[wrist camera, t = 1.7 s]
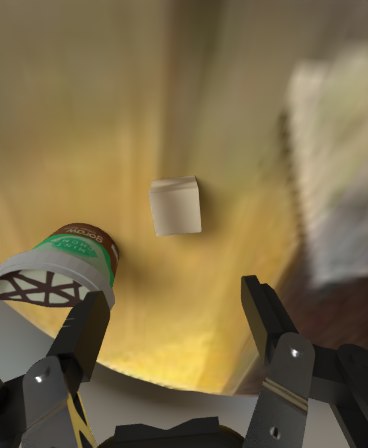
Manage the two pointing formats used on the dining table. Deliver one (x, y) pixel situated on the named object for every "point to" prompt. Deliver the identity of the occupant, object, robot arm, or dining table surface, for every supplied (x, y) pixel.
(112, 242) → the food container
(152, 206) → the beige cube
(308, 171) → the dining table surface
